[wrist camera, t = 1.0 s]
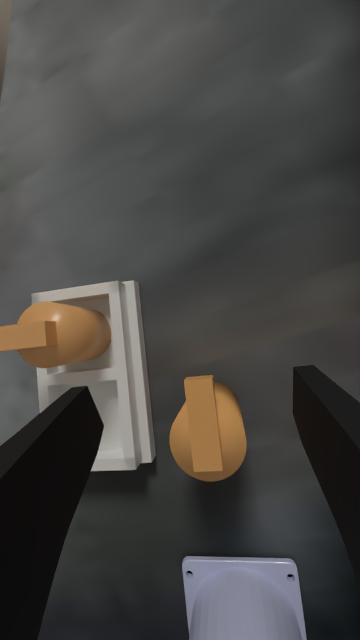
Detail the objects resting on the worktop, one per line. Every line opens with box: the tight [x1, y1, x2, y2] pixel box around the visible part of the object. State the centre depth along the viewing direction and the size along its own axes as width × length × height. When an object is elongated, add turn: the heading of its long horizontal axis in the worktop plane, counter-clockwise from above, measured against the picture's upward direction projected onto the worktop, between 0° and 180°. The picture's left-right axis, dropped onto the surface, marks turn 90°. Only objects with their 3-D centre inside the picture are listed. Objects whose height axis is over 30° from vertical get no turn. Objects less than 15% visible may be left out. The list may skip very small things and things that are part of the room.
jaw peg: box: [170, 375, 247, 481], centre depth 17 cm, size 5×4×7 cm
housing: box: [0, 280, 156, 471], centre depth 18 cm, size 14×8×7 cm, turn 6°
